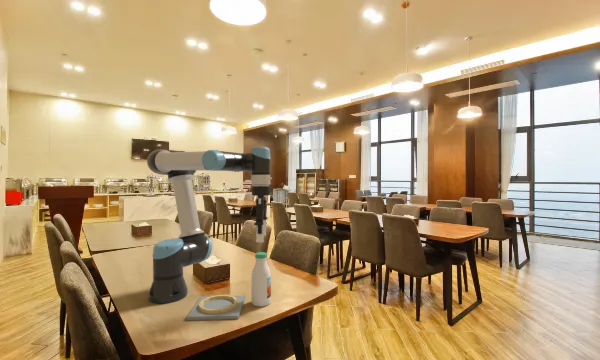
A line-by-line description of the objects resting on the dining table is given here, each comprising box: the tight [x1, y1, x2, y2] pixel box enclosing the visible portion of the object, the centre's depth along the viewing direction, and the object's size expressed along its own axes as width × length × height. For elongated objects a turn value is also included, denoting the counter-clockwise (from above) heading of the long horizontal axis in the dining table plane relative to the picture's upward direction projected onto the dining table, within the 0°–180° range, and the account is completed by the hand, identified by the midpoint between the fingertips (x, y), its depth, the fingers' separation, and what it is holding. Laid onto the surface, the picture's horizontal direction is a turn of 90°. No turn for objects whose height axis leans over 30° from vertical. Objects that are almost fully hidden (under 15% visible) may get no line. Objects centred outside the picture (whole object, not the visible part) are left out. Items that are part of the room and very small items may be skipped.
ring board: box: [186, 294, 246, 321], centre depth 112 cm, size 18×18×2 cm
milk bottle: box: [250, 251, 272, 307], centre depth 117 cm, size 8×8×20 cm
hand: (261, 238), depth 117 cm, fingers open, 13 cm apart
